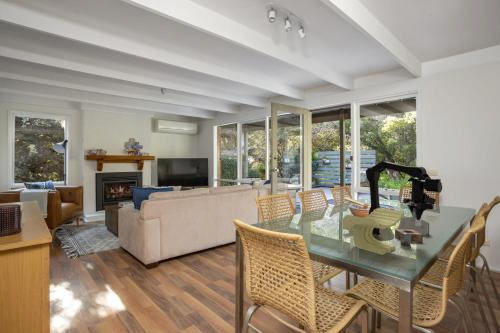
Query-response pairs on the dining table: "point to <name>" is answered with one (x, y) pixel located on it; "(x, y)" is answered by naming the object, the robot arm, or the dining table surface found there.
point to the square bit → (415, 219)
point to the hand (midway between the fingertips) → (416, 219)
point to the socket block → (414, 234)
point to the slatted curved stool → (366, 225)
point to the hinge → (407, 224)
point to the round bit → (405, 239)
